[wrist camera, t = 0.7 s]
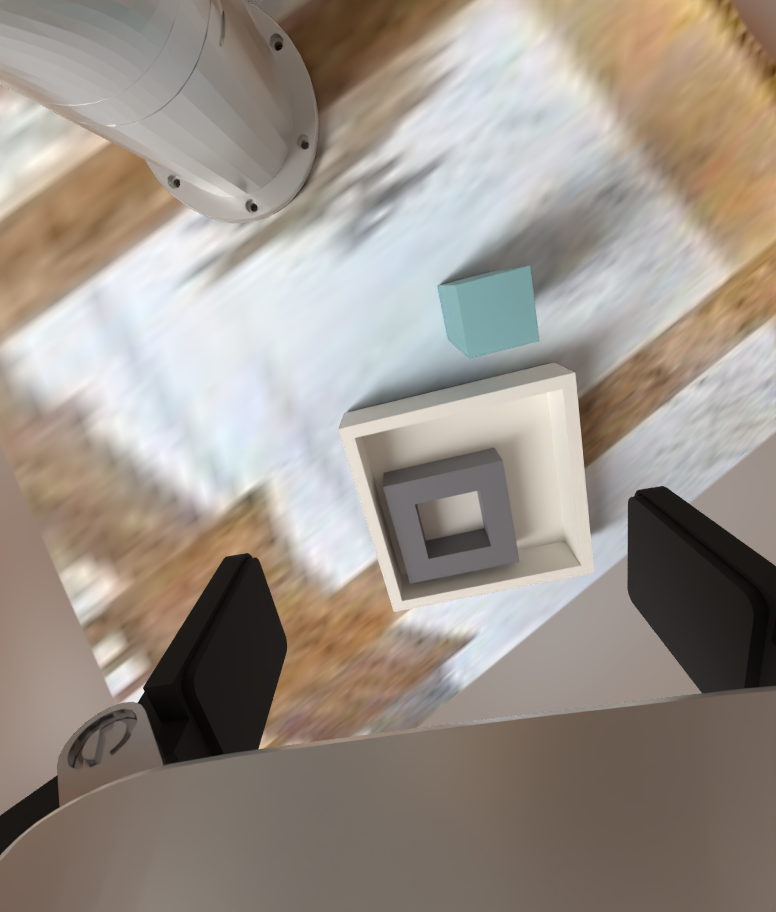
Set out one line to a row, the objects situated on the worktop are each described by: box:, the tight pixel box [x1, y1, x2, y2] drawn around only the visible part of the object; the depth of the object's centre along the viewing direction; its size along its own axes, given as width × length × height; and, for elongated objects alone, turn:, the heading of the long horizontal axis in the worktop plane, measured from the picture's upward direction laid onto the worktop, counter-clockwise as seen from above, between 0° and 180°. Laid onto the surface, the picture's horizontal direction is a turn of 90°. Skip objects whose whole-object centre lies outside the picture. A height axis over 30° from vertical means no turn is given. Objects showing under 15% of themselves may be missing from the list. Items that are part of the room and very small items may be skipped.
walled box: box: [338, 362, 594, 612], centre depth 38 cm, size 18×18×4 cm
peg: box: [438, 266, 539, 358], centre depth 30 cm, size 4×4×10 cm
